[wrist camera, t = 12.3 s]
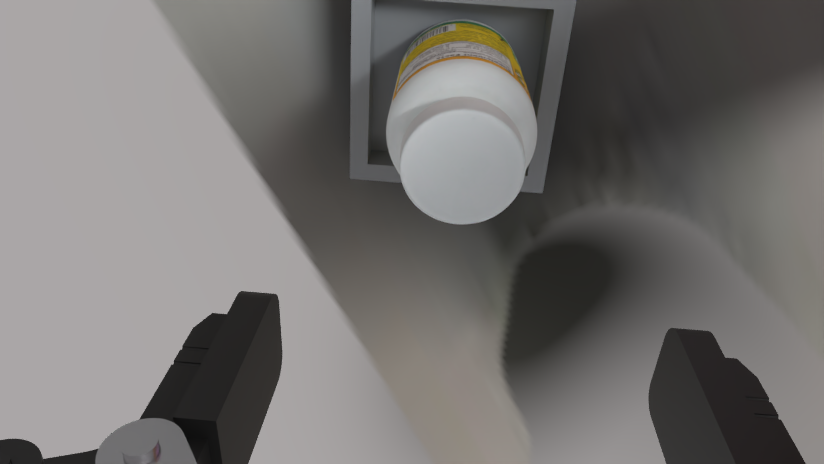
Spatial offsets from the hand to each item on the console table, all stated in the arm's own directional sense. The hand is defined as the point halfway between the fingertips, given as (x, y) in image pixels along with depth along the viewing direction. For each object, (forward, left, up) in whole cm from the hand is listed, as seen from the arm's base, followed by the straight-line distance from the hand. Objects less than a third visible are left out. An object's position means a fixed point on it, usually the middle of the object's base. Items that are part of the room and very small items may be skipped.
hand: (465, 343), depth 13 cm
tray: (0, 0, -18) cm, 18 cm away
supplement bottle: (0, 0, -18) cm, 18 cm away
